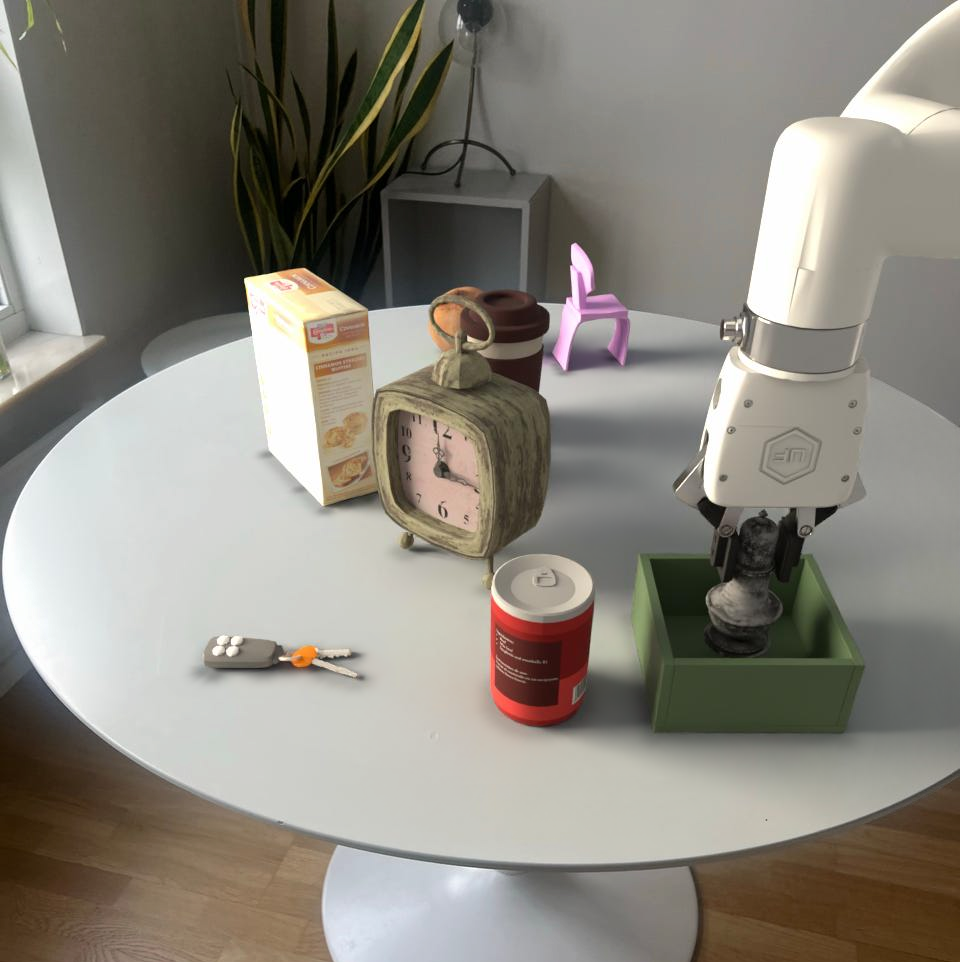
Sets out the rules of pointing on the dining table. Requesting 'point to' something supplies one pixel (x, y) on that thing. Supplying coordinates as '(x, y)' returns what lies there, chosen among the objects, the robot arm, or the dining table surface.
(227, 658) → the key chain
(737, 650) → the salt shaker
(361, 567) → the dining table surface
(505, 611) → the canned food
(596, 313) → the toy chair
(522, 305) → the coffee cup
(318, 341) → the coffeecake box
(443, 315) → the onion
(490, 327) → the tabletop clock
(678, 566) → the green planter box
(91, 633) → the dining table surface
